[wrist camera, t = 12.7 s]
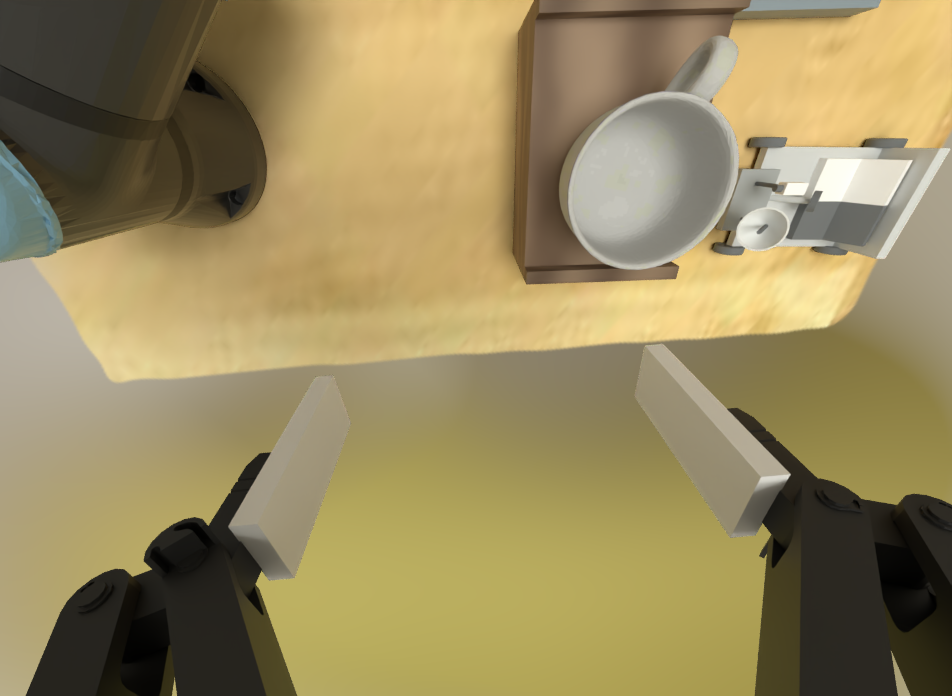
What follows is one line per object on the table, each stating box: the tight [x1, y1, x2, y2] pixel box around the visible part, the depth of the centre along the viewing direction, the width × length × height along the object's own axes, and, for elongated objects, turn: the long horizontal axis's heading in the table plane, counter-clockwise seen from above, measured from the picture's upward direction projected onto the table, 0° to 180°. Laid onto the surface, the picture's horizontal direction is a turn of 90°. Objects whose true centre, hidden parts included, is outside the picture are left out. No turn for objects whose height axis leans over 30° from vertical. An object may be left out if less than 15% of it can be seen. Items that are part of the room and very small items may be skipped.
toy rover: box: [713, 137, 950, 259], centre depth 36 cm, size 18×10×12 cm
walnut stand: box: [513, 0, 751, 284], centre depth 32 cm, size 14×20×10 cm
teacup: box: [559, 36, 739, 270], centre depth 26 cm, size 14×11×8 cm
